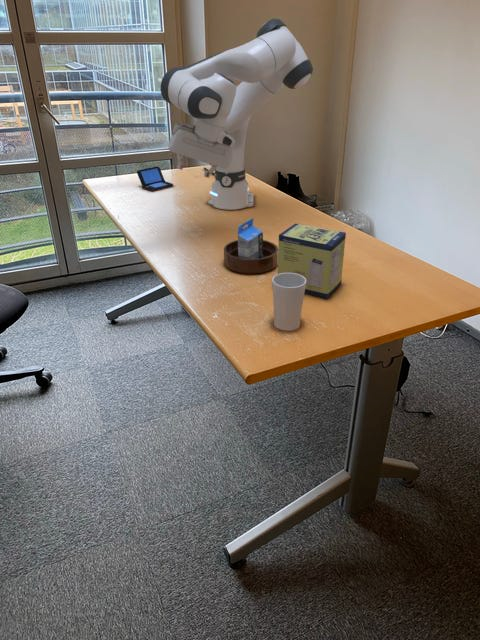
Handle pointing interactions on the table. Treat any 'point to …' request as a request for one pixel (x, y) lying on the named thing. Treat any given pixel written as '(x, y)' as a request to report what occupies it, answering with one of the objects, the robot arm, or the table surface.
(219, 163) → the robot arm
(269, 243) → the bowl
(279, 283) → the cup
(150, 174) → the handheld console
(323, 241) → the protein box
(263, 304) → the table surface
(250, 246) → the label tape box
